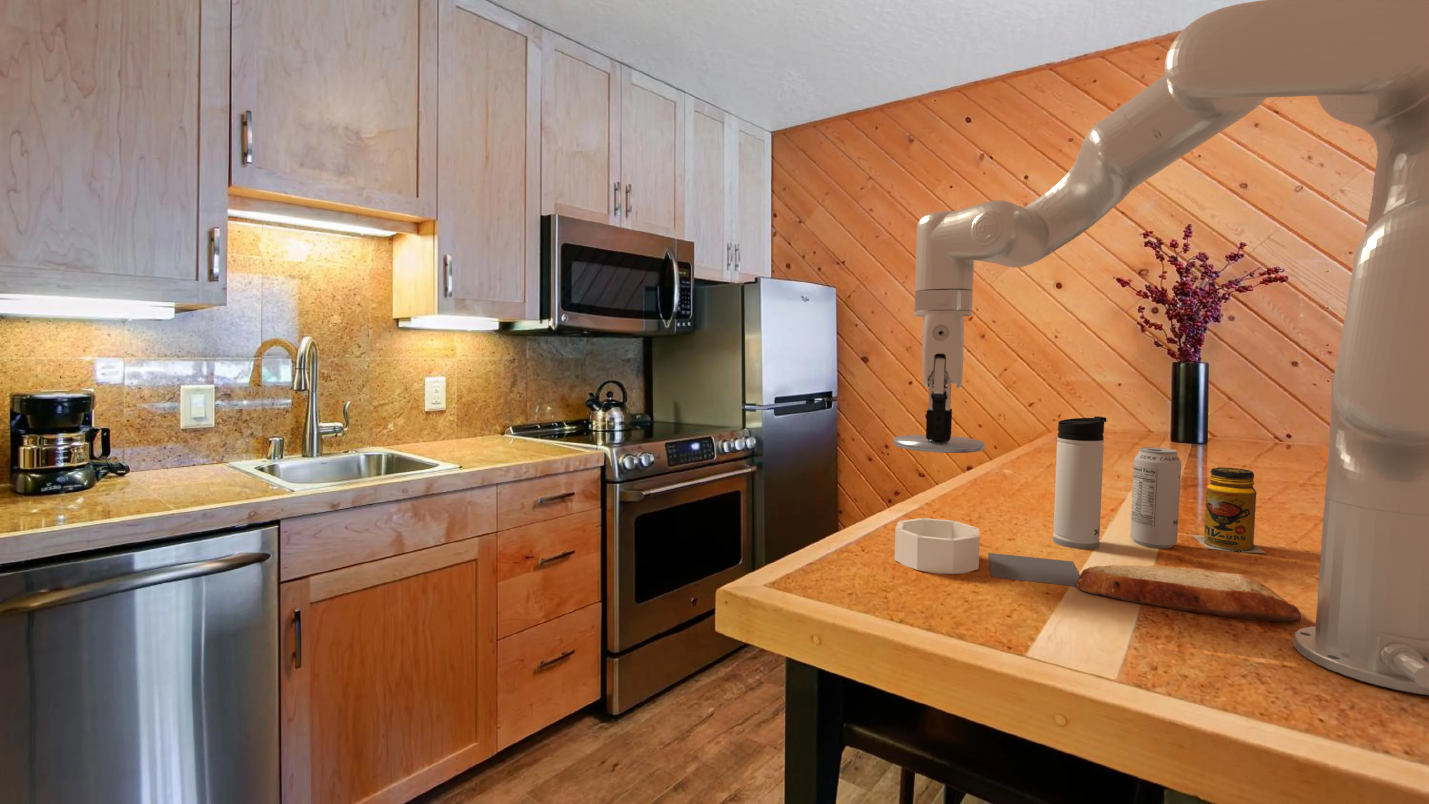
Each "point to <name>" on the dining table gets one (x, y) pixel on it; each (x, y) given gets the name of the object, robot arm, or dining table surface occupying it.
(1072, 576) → the mat
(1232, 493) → the condiment
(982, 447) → the lid
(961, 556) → the bowl
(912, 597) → the dining table surface
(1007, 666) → the dining table surface
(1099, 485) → the travel mug
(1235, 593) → the bread slice
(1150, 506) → the energy drink can
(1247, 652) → the dining table surface
